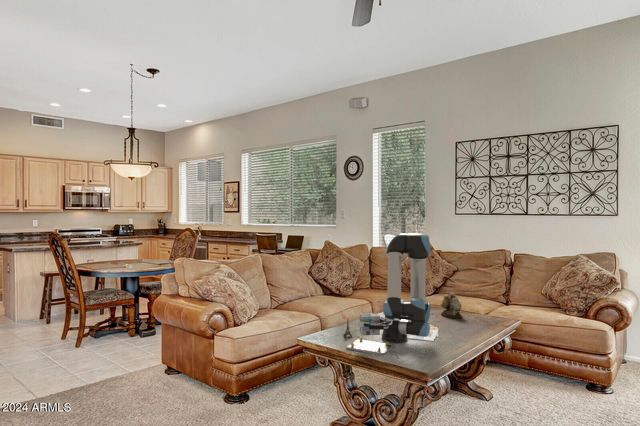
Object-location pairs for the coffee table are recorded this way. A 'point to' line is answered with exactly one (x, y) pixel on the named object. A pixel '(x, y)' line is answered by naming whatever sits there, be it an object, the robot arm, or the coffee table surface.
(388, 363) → the coffee table surface
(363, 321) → the light bulb box
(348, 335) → the eiffel tower figurine
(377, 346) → the plate
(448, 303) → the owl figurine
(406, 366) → the coffee table surface
